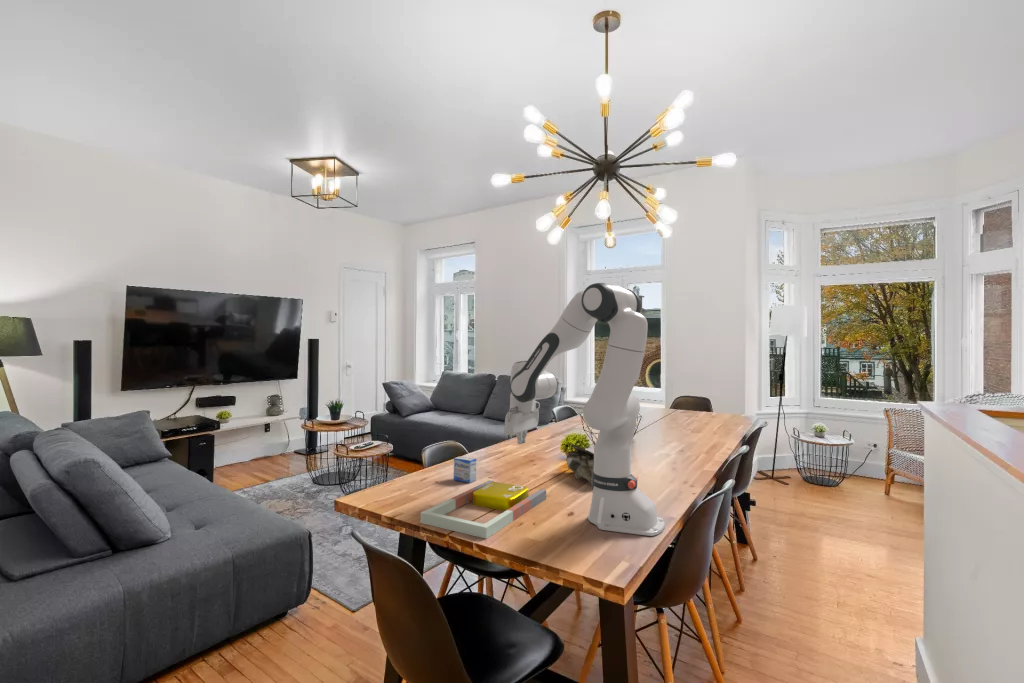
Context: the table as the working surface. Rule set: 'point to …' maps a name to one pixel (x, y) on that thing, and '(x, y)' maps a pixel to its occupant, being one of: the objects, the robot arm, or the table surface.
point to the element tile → (499, 495)
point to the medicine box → (464, 469)
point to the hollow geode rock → (581, 462)
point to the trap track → (439, 519)
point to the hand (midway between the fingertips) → (521, 443)
